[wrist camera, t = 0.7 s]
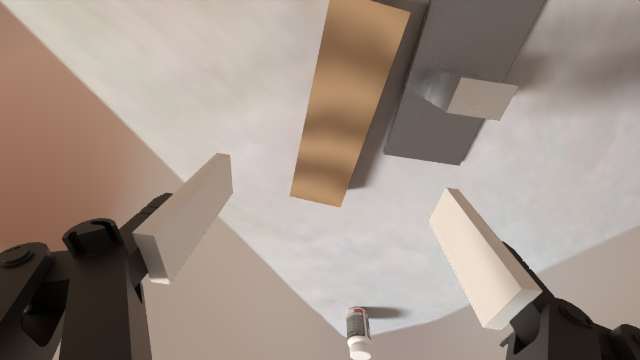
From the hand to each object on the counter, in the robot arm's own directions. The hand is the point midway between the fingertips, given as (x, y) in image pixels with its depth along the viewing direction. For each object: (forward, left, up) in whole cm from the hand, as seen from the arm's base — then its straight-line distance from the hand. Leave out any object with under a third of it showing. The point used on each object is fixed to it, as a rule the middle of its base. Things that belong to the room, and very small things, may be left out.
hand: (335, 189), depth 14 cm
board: (0, 0, -17) cm, 17 cm away
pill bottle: (+43, +12, -17) cm, 48 cm away
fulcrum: (-5, +12, -17) cm, 21 cm away
